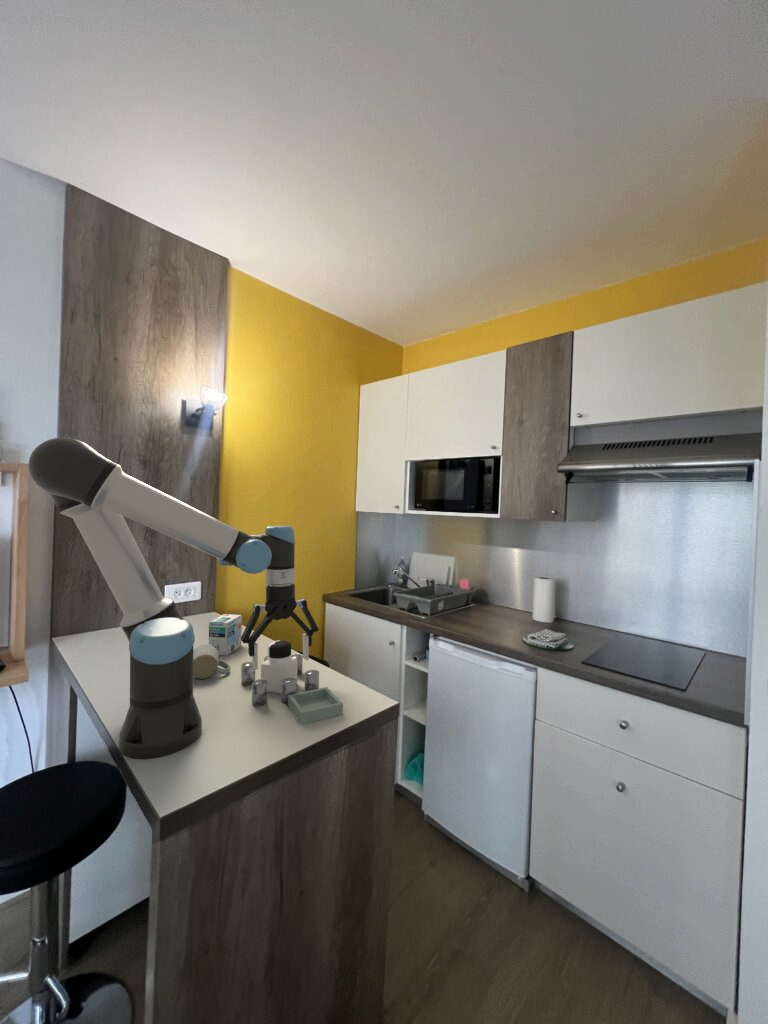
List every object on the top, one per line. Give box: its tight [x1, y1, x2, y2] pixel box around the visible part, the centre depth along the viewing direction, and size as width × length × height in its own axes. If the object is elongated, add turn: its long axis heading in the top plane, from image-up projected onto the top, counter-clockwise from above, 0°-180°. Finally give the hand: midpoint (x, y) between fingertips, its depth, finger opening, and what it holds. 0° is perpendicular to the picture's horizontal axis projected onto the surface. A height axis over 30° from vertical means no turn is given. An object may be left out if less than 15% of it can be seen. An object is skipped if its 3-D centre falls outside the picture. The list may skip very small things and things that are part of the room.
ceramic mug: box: [193, 643, 231, 680], centre depth 120 cm, size 11×8×8 cm
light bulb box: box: [208, 613, 243, 656], centre depth 141 cm, size 11×7×11 cm, turn 173°
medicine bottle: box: [260, 639, 298, 695], centre depth 112 cm, size 7×7×12 cm
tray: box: [287, 687, 344, 726], centre depth 100 cm, size 10×10×3 cm
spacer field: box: [240, 653, 320, 707], centre depth 112 cm, size 17×22×5 cm
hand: (281, 663), depth 112 cm, fingers open, 13 cm apart
